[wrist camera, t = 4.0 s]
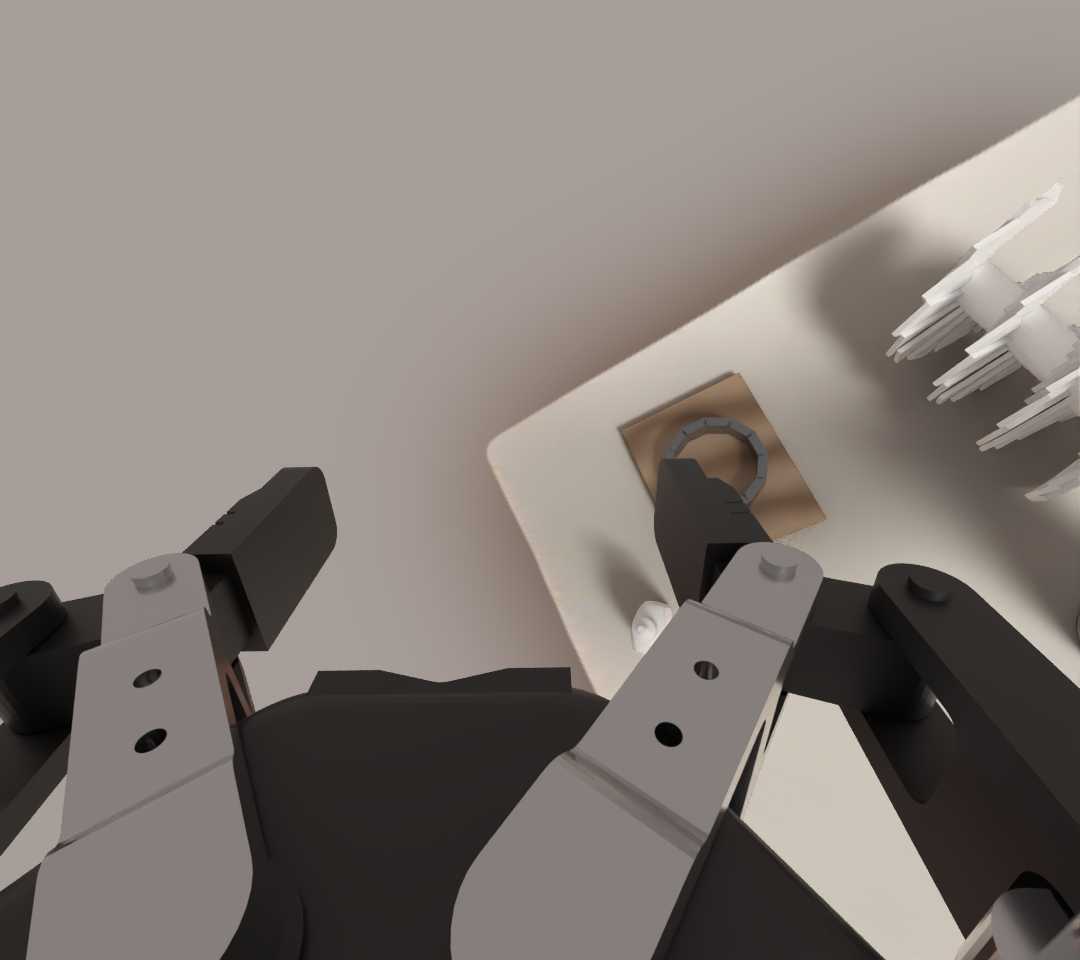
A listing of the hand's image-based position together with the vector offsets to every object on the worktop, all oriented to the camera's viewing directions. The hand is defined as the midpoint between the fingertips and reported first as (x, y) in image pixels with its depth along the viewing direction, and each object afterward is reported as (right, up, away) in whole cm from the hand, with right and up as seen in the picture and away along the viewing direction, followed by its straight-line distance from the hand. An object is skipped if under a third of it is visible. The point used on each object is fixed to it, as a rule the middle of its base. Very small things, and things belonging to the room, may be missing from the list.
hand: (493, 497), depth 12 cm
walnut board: (+23, +1, +49) cm, 54 cm away
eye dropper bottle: (+15, -17, +48) cm, 53 cm away
